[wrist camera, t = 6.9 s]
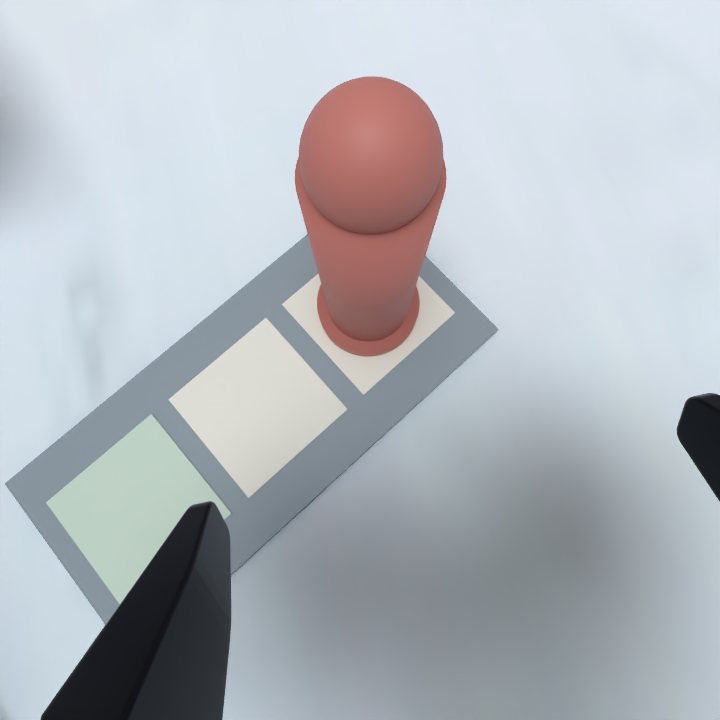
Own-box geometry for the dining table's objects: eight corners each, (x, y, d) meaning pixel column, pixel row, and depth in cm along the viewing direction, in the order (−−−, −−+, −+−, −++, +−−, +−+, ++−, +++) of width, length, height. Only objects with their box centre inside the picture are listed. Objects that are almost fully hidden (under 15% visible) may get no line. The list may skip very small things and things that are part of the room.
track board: (496, 331, 22) (499, 328, 22) (138, 659, 20) (132, 664, 19) (360, 194, 24) (360, 189, 23) (11, 482, 21) (3, 483, 21)
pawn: (437, 311, 22) (541, 114, 9) (364, 377, 22) (362, 266, 8) (371, 243, 23) (379, -30, 10) (299, 305, 22) (204, 101, 9)
